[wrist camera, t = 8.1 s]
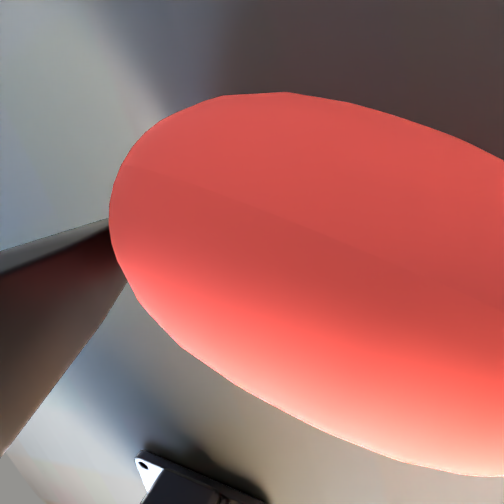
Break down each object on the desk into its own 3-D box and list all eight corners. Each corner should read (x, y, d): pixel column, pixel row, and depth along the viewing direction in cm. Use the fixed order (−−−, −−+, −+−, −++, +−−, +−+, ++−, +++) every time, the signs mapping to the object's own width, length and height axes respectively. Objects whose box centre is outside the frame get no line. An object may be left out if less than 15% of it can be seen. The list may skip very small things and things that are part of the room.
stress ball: (331, -85, 9) (-13, 53, 6) (909, 275, 5) (565, 815, 3) (299, 128, 13) (89, 249, 11) (595, 396, 10) (370, 646, 8)
